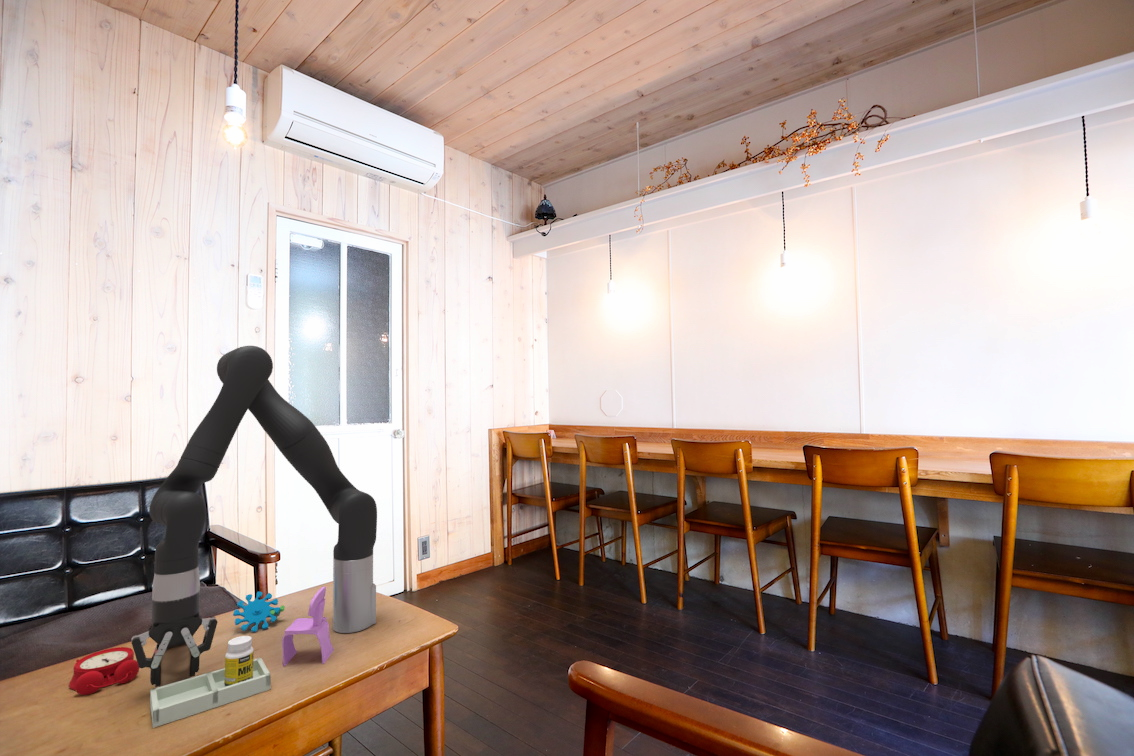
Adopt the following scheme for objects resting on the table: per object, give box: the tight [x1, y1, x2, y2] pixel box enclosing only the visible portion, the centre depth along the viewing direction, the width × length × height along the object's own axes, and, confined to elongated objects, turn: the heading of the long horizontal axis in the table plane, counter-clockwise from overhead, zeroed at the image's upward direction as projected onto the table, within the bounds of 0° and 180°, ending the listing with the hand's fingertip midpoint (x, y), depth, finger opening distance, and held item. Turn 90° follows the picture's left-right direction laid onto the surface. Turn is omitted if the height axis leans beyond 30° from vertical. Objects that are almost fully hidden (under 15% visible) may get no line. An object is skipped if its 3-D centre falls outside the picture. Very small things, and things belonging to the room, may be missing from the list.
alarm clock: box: [68, 646, 140, 696], centre depth 106 cm, size 10×6×15 cm
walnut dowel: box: [158, 644, 192, 687], centre depth 104 cm, size 5×5×8 cm
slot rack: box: [149, 657, 272, 729], centre depth 100 cm, size 18×9×3 cm, turn 131°
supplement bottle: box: [224, 635, 254, 687], centre depth 103 cm, size 5×5×8 cm
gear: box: [232, 591, 286, 633], centre depth 132 cm, size 11×6×10 cm
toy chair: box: [281, 585, 335, 667], centre depth 115 cm, size 8×9×15 cm
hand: (175, 679), depth 103 cm, fingers closed on walnut dowel, 5 cm apart
